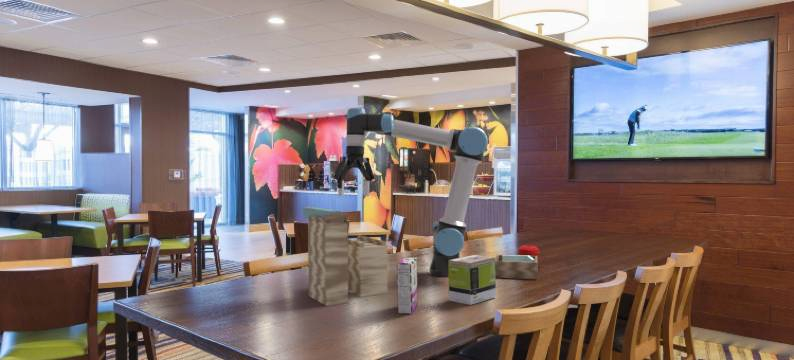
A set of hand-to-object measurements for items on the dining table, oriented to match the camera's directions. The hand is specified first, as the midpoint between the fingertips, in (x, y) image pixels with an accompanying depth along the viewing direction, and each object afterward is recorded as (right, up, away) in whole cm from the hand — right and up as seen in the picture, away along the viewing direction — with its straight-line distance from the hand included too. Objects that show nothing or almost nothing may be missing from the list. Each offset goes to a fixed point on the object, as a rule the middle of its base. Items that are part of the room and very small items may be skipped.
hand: (354, 196), depth 225 cm
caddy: (+70, -35, +10) cm, 79 cm away
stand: (-7, -36, -33) cm, 49 cm away
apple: (+80, -34, +28) cm, 92 cm away
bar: (-10, -8, -28) cm, 31 cm away
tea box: (+45, -36, -35) cm, 67 cm away
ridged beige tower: (+4, -35, -18) cm, 40 cm away
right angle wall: (+71, -35, +10) cm, 80 cm away
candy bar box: (+21, -36, -48) cm, 64 cm away
